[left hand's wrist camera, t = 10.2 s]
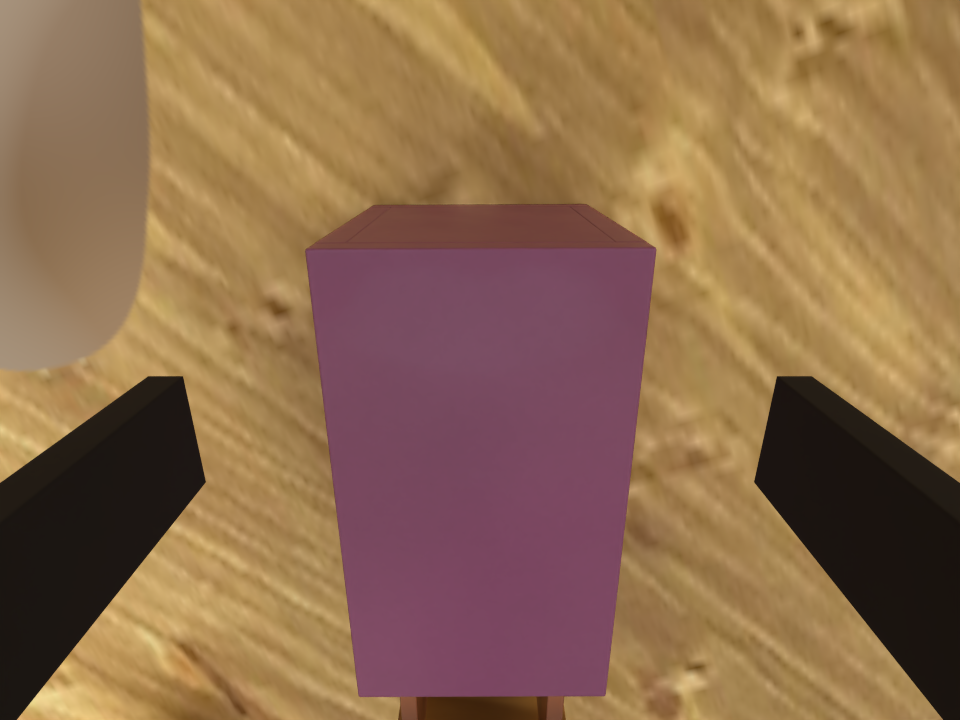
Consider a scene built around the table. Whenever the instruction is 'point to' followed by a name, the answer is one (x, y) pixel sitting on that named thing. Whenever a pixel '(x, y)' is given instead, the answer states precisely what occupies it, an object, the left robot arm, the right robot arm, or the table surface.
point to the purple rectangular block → (481, 439)
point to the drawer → (482, 708)
